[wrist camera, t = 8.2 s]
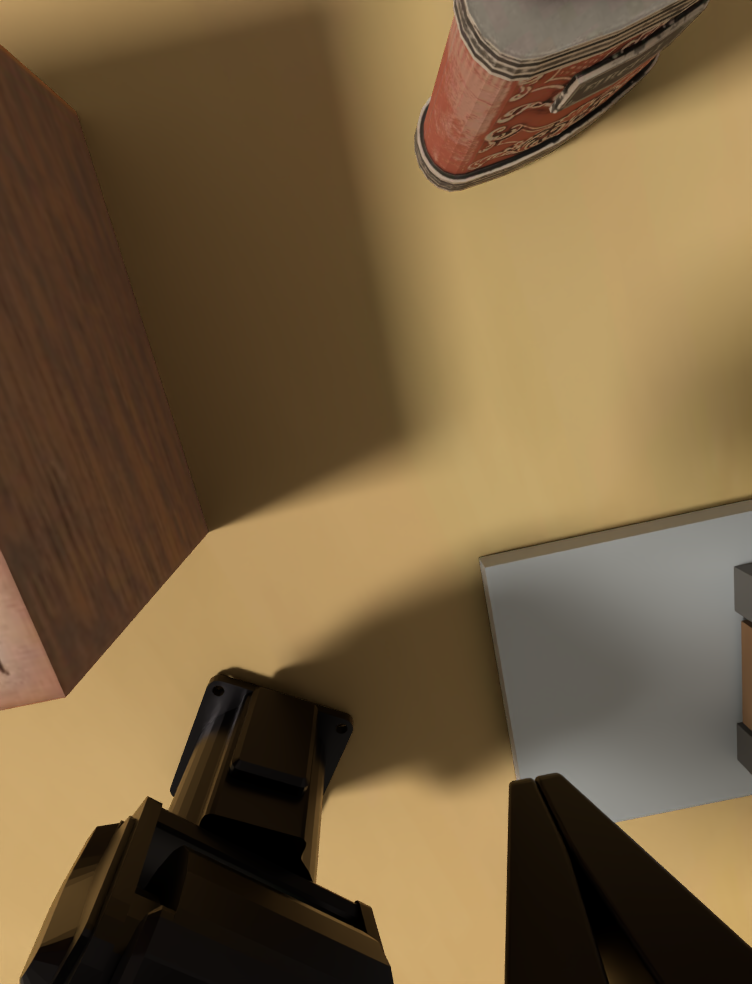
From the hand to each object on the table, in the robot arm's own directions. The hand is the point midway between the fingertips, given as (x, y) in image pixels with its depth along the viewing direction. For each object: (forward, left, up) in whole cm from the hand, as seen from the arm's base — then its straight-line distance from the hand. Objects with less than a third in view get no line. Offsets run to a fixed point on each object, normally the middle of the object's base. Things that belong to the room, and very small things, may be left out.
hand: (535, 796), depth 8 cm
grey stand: (-2, -12, -12) cm, 17 cm away
